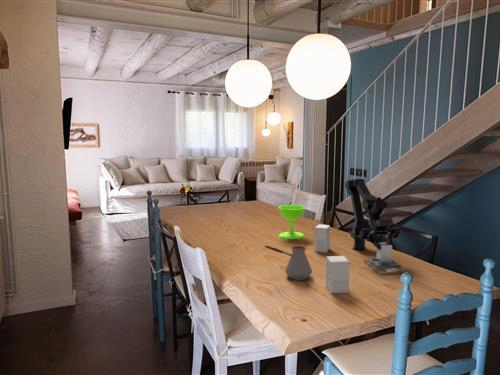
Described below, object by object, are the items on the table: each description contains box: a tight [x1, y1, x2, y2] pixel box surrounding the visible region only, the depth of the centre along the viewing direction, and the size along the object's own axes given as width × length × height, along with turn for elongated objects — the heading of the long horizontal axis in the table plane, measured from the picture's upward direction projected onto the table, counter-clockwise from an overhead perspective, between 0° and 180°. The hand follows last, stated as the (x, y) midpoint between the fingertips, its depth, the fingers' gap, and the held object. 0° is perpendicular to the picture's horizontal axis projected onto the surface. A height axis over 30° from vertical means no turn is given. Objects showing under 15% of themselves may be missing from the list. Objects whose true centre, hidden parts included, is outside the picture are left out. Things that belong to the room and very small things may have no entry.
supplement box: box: [325, 255, 350, 294], centre depth 151 cm, size 7×7×13 cm
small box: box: [314, 223, 331, 253], centre depth 206 cm, size 8×6×13 cm
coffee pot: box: [263, 245, 313, 281], centre depth 164 cm, size 21×12×15 cm, turn 104°
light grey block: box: [375, 241, 393, 265], centre depth 178 cm, size 5×5×9 cm
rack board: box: [363, 257, 409, 276], centre depth 177 cm, size 18×13×2 cm
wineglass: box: [278, 204, 306, 240], centre depth 235 cm, size 16×16×18 cm
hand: (385, 249), depth 177 cm, fingers closed on light grey block, 5 cm apart
